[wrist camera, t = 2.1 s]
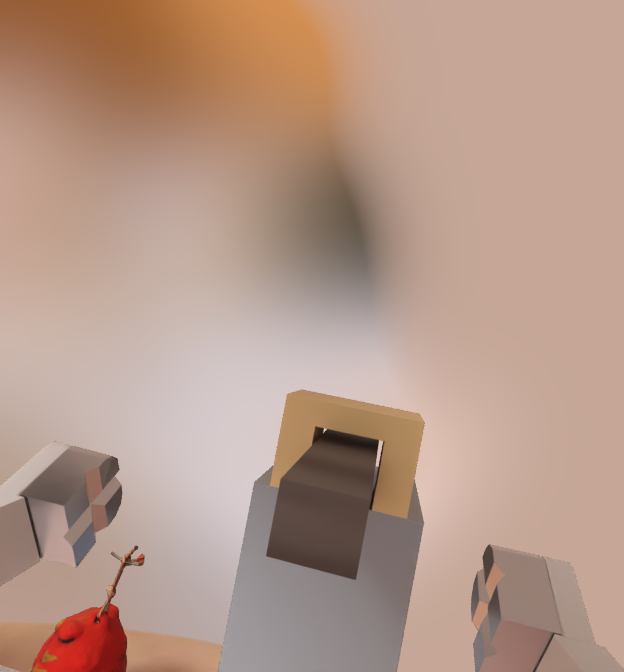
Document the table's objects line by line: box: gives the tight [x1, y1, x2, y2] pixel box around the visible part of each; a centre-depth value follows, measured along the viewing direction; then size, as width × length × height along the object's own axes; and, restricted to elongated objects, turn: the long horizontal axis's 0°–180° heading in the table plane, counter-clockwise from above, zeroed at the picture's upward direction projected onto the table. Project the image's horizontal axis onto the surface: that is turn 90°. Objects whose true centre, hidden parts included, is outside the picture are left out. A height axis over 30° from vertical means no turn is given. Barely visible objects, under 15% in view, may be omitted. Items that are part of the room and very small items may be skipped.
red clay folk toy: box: [31, 546, 144, 672], centre depth 38 cm, size 8×7×15 cm
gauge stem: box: [266, 429, 379, 580], centre depth 28 cm, size 20×4×3 cm, turn 171°
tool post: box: [218, 390, 424, 672], centre depth 34 cm, size 12×10×30 cm
